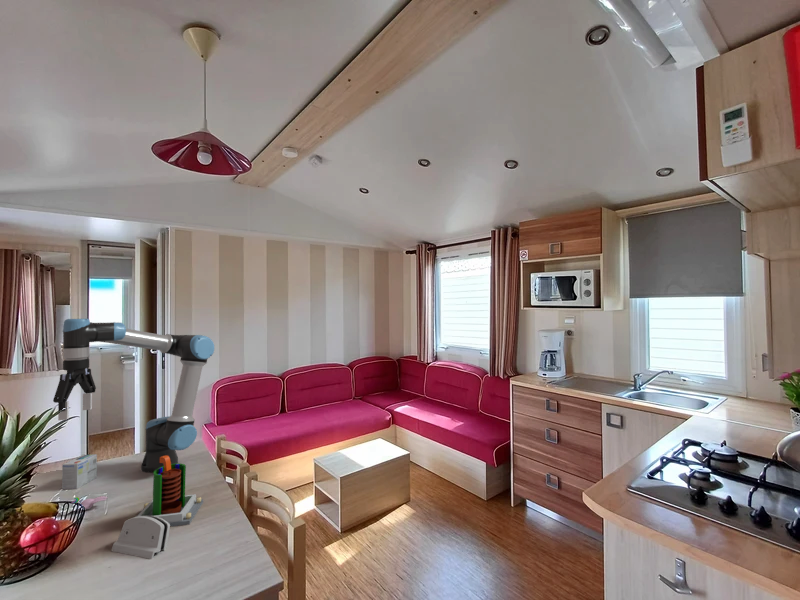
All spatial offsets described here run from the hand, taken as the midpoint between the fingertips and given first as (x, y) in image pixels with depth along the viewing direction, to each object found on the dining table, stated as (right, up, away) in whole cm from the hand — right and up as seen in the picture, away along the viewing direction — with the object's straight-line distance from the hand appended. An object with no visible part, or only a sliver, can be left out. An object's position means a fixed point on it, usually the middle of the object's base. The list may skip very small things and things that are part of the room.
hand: (75, 414), depth 137 cm
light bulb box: (-18, -38, +22) cm, 47 cm away
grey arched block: (+42, -36, -22) cm, 59 cm away
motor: (+38, -35, -5) cm, 52 cm away
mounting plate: (+38, -36, -5) cm, 53 cm away
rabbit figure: (+3, -37, -1) cm, 37 cm away
